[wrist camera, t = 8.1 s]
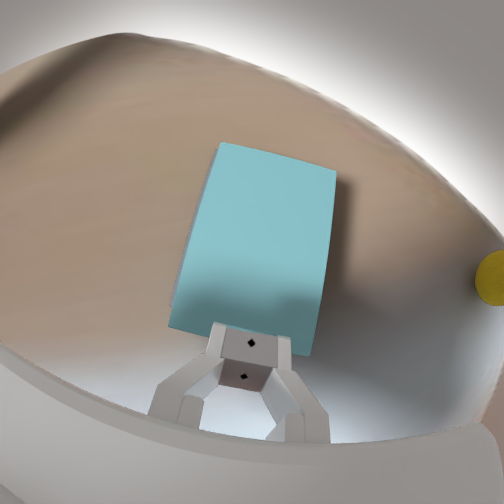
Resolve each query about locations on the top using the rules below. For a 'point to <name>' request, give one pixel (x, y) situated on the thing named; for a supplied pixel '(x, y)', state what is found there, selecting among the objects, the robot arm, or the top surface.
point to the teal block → (258, 247)
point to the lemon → (491, 279)
